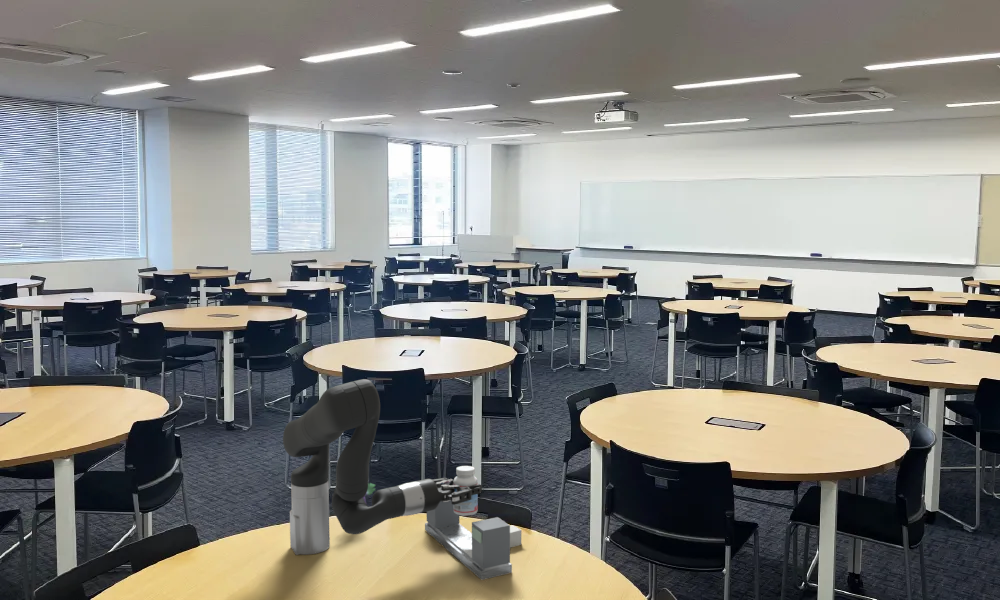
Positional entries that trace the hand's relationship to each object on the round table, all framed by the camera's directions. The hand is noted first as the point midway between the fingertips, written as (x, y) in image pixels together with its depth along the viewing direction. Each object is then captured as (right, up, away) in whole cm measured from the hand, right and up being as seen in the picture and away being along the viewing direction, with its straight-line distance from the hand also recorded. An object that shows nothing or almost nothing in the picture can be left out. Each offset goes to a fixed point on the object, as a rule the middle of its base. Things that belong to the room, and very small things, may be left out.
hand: (473, 485), depth 187 cm
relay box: (+9, -16, +3) cm, 19 cm away
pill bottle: (-2, -7, -1) cm, 7 cm away
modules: (-2, -14, 0) cm, 14 cm away
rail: (-2, -16, 0) cm, 17 cm away
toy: (-33, -15, +20) cm, 41 cm away
